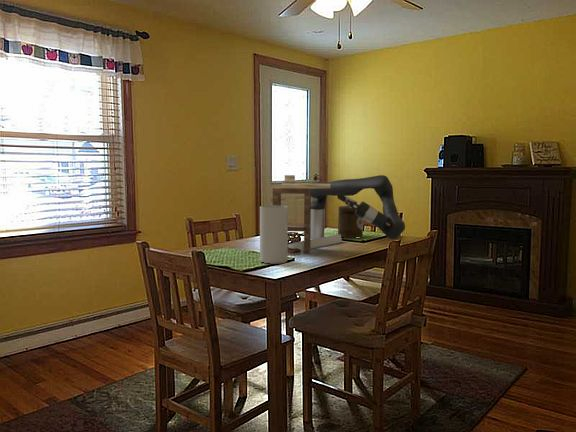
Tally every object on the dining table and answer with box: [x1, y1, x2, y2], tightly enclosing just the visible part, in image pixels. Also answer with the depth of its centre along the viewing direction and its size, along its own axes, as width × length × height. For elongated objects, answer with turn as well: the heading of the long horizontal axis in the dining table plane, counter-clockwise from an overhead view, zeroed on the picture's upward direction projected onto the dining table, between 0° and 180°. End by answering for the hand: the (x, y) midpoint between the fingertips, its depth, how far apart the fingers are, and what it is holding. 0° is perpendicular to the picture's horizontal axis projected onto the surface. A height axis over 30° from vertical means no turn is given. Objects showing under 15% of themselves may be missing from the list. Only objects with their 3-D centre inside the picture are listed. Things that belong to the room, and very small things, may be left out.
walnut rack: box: [272, 186, 312, 255], centre depth 260 cm, size 16×18×32 cm
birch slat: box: [280, 183, 330, 189], centre depth 254 cm, size 4×24×2 cm, turn 85°
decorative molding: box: [288, 234, 343, 251], centre depth 279 cm, size 34×5×10 cm
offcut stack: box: [282, 174, 296, 184], centre depth 262 cm, size 4×6×6 cm
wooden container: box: [337, 205, 364, 239], centre depth 307 cm, size 15×15×22 cm
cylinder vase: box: [259, 204, 289, 265], centre depth 232 cm, size 12×12×25 cm
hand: (338, 195), depth 253 cm, fingers open, 8 cm apart
